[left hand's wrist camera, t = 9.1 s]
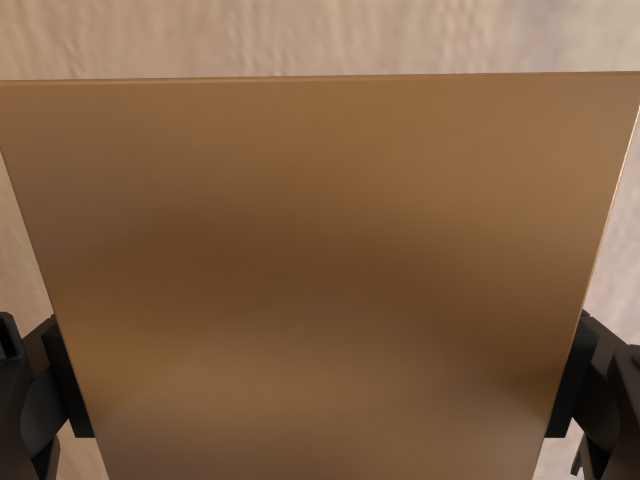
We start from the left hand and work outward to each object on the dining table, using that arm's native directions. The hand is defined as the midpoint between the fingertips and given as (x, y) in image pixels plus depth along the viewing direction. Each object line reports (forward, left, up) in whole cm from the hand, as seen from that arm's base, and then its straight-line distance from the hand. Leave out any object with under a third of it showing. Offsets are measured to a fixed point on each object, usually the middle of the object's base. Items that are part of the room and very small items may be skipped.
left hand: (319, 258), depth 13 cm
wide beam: (+22, +5, -1) cm, 23 cm away
